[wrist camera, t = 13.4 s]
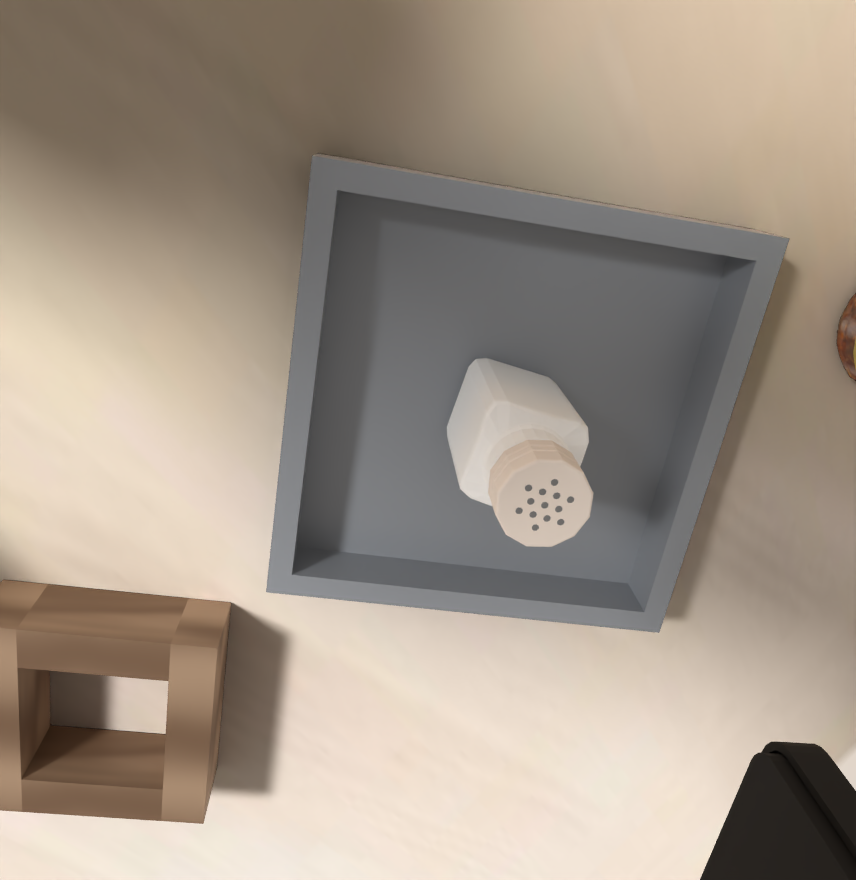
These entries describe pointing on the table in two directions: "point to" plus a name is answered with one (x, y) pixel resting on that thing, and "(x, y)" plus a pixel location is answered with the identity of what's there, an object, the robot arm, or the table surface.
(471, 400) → the salt shaker
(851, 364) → the sauce bottle
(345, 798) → the table surface
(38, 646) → the shaker holder
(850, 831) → the robot arm
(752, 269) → the tray
